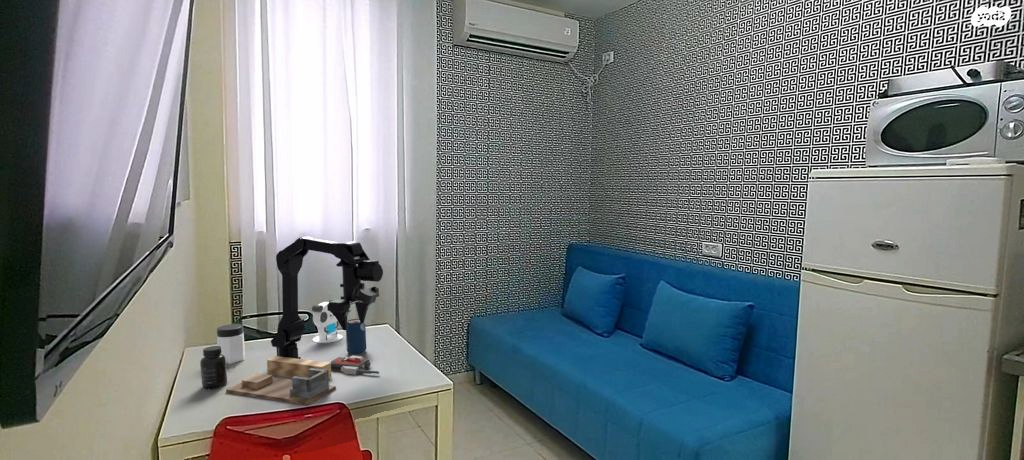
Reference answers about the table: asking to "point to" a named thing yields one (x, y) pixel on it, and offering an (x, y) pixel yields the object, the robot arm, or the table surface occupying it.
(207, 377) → the supplement bottle
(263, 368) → the table surface
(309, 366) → the oak rail
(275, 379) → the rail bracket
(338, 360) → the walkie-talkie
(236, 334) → the jar
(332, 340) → the panda figurine
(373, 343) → the table surface
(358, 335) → the soda can
